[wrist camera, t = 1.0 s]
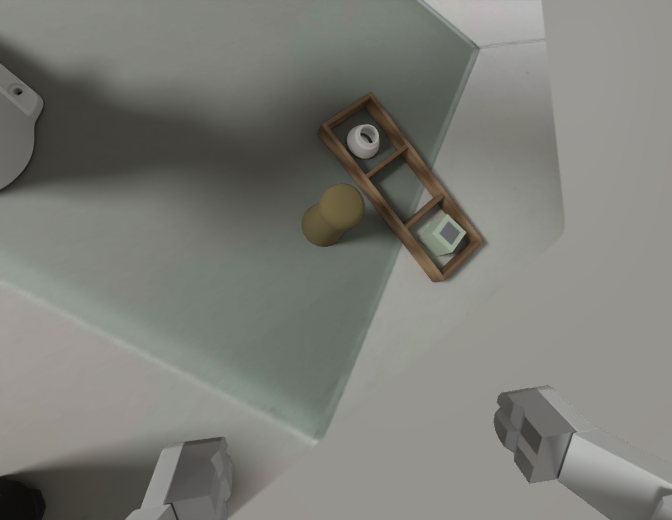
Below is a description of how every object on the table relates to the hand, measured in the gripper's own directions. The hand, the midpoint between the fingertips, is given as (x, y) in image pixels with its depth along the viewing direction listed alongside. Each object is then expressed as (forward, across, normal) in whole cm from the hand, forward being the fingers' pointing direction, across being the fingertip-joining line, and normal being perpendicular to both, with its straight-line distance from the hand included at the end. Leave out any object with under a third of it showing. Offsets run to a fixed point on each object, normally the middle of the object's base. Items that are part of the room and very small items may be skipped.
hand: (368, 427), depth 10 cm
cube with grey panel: (+39, -20, +9) cm, 45 cm away
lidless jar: (+45, -10, -5) cm, 46 cm away
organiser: (+42, -15, +2) cm, 44 cm away
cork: (+38, -2, +5) cm, 38 cm away
